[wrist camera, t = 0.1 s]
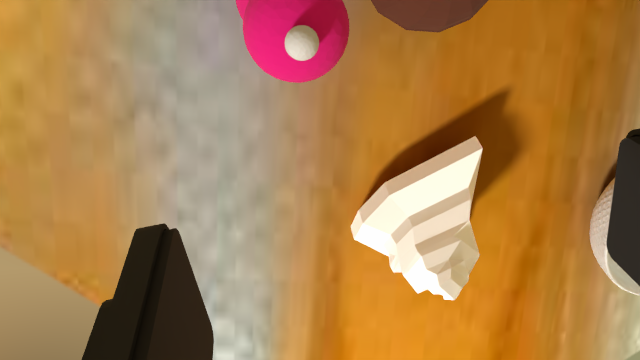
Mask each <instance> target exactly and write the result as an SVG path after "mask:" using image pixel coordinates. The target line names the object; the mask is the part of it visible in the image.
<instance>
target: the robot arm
mask: <svg viewBox="0 0 640 360" xmlns="http://www.w3.org/2000/svg"><path fill="white" fill-rule="evenodd" d="M606 245H607V250H608V253H609V255H610V257H611V258H612V259H613V260H614V261H615V262H616V263H617V264H618V265H619V266H620V267H621V268H622V269H623V270H624V271H625V272H626V273H627V274H628V275H629V276H630V277H631V278H632V279H633V280H634V281H635V282H636V283H637V284H638V285H639V286H640V129H635V130H632V131H630V132H629V133H628V135H627V136H626V138H625V139H623V140H622V141H621V143H620V146H619V153H618V160H617V168H616V175H615V182H614V190H613V197H612V204H611V212H610V219H609V226H608V234H607V241H606ZM213 343H214V339H213V330H212V326H211V322H210V320H209V317H208V314H207V311H206V308H205V305H204V302H203V299H202V297H201V294H200V291H199V288H198V285H197V282H196V279H195V276H194V274H193V271H192V268H191V265H190V262H189V259H188V256H187V254H186V251H185V248H184V245H183V242H182V239H181V236H180V234H179V231H178V230H177V229H176V228H175V229H170V230H169V228H168V227H167V225H166V224H159V225H154V226H149V227H144V228H139V229H136V231H135V233H134V236H133V239H132V242H131V245H130V248H129V251H128V254H127V257H126V260H125V263H124V266H123V270H122V273H121V276H120V279H119V282H118V285H117V288H116V291H115V294H114V297H113V299H110V300H106V301H105V302H103V303H102V305H101V307H100V309H99V312H98V315H97V318H96V320H95V323H94V326H93V329H92V332H91V335H90V337H89V341H88V343H87V346H86V349H85V352H84V355H83V357H82V360H212V358H213Z"/></svg>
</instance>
